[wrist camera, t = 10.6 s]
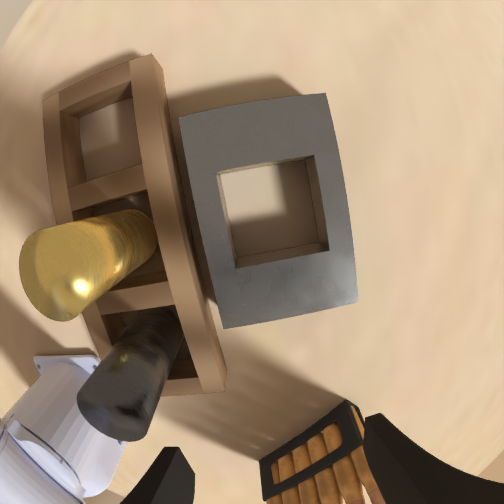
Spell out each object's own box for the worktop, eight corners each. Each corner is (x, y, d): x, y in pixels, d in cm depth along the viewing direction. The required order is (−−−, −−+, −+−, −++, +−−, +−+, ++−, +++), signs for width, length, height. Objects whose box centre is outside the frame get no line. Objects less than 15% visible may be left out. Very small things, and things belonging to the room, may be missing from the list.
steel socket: (345, 288, 19) (358, 301, 16) (226, 311, 19) (223, 329, 16) (315, 104, 16) (325, 93, 14) (187, 126, 16) (178, 117, 14)
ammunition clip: (346, 398, 21) (396, 514, 9) (358, 407, 21) (408, 515, 9) (258, 460, 22) (263, 565, 11) (272, 466, 23) (281, 567, 11)
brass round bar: (163, 258, 18) (99, 317, 9) (115, 268, 18) (36, 324, 9) (150, 203, 17) (71, 218, 8) (102, 216, 17) (10, 240, 9)
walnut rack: (227, 370, 20) (225, 391, 17) (129, 378, 20) (119, 397, 18) (162, 68, 15) (151, 53, 13) (62, 108, 16) (42, 100, 13)
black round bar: (189, 349, 19) (159, 443, 11) (144, 353, 19) (97, 438, 11) (175, 302, 19) (128, 385, 10) (128, 310, 19) (64, 384, 10)
